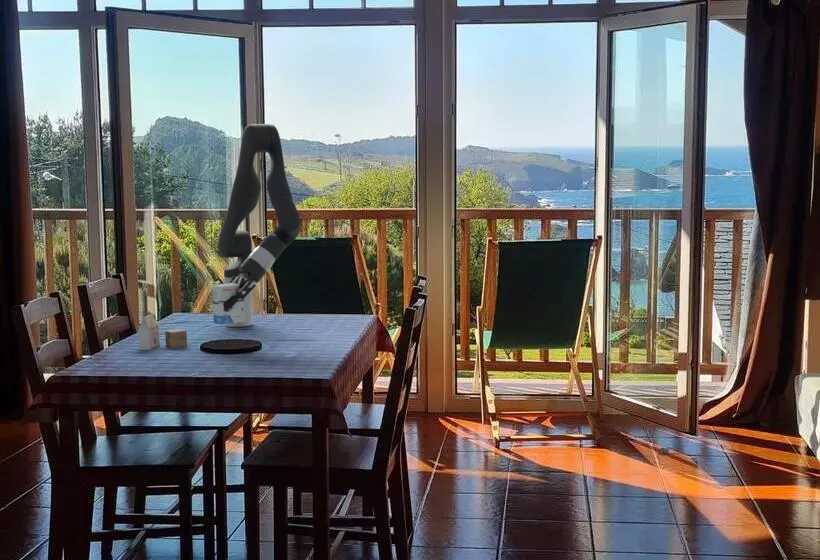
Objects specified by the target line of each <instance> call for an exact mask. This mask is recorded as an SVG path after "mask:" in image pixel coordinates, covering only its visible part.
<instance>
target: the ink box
mask: <svg viewBox="0 0 820 560" xmlns="http://www.w3.org/2000/svg"><path fill="white" fill-rule="evenodd" d="M236 286H237V284H236V283H227V284H224V283H219V284H214V285H212V310H213V311H212V312H213V323H215V324H218V325H226V324H229V323H236V322H243V321H245V312H244V299H240V300H238V301H237V302H236V303H235V304H234V306H233V307H232V308H231V309H228V308H227V307H226V306H225V303H226V302H227V301H228V300H229V299H230V297H231V296H233V294H234V292H235V287H236ZM243 291H244V290H243Z"/></svg>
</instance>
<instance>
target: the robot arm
mask: <svg viewBox="0 0 820 560" xmlns="http://www.w3.org/2000/svg"><path fill="white" fill-rule="evenodd" d="M259 153H264V154H266V153H268V155H269V157H270V168H269V171H268V172H269V173H268V175H267V179H266V191H267V195H268V197H269V200H270V201H269V202H270V204H271V206H272V208H273V210H274V211H275V215H276V219H277V227H276V229H274V231H273V232H272V233H269V234H267V235H266V236H265V237H264V238H263V240H262V241H261V242H260V243H259V244H258V245H257V246H256V248H255V249H254V250H253V243H252V237H251V234H250V233H249V232H248V231H247V230H243V229H242V230H238V229H239V227H240V225H241V223H243V222H244V220H246V219H247V218H248V216H249V215H250V214H251V213H253V211H254V210H255V208H256V206H257V205H258V203H259V199H260V195H261V194H260V193H261V190H262V186H261V185H262V184H261V181H260V178H259V176H258V174H257V172H256V170H255V167H254V162H255V156H256V154H259ZM283 155H284V154H283V148H282V143H281V137H280V133H279V130H278V128H277V127H276V126H275V125H274V124H270V123H252V124H248V125H246V126H245V128H244V129H243V132H242V137H241V142H240V150H239V156H238V157H239V158H238V165H237V169H236V173H235V177H234V181H233V184H232V189H231V192H230V198H229V203H228V208H227V210H226V215H225V218H224V221H223V224H222V227H221V229H220V232H219V236H218V241H217V251H218V254H219V256H220V257H222V258H224V259H225V258H227V259H229V258H237V259H236V261H235V262H234V263H233V264H232V265H229V266H227V267H226V268H224V270H223V277H224V278H223V279H224V280H223V281H224V283H223V284H227V283H236V284H237V286H236V287H235V292H234V294H233V296H231V297H230V299H229V300H228V301H227V302H226V303H225V306H226V307H227V308H228V309H231V308H232V307H233V306H234V304H235V303H236V302H237V301H238V300H240V299H244V312H245V321H243V322H236V323H229V324H225V326H226V327H230V328H231V327H232V328H238V327H239V328H240V327H241V328H243V327H250V326H253V299H252V297H253V296H252V290H254V288H256V287H257V285H256V284H258V283H259V282H260V281H261V280H262V279H263V278H264V276H265V275H266V274H267V273H268V271H269V270H270V269H271V267H272V266H273V265H274V263H275V262H276V260H277V259H278V258H279V256H280V255H281V254H282V253H283V251H284V250H285V249H287V247H289V246H290V244H292V243H293V242H294V241H295V240H296V238H297V237H298V236H299V234H300V232H301V226H302V225H301V223H302V222H301V216H300V214H299V212H298V209H297V207H296V204H295V202H294V198H293V195H292V191H291V189H290V186H289V182H288V179H287V174H286V168H285V161H284V156H283ZM243 290H244V291H243Z"/></svg>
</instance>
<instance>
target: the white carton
mask: <svg viewBox="0 0 820 560" xmlns="http://www.w3.org/2000/svg"><path fill="white" fill-rule="evenodd" d="M137 336H138V337H137V338H138V350H140V351H142V350H143V351H151V350H153V349H155V348H158V347H160V345H161V344H160V327H159V325H158V323H157V320H156V318H155V316H154V313H152V314H149V315H146V316H143V317H142V320H141V323H140V324H139V328H138V330H137Z"/></svg>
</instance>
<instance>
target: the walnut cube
mask: <svg viewBox="0 0 820 560" xmlns="http://www.w3.org/2000/svg"><path fill="white" fill-rule="evenodd" d="M164 332H165V333H164V335H165V347H167V348H170V349H177V348H186V347H188V336H187V335H188V334H187V330H185V329H182V328H177V329H167V330H165V331H164Z"/></svg>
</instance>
